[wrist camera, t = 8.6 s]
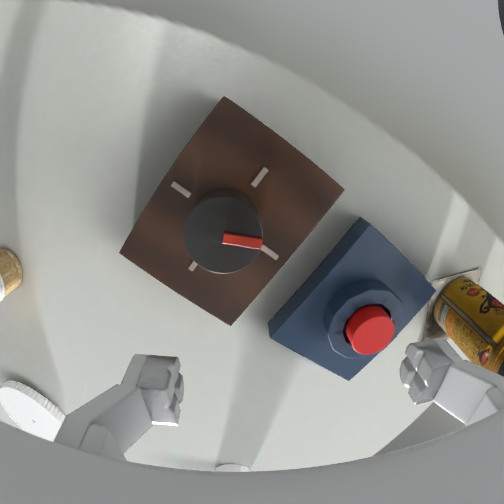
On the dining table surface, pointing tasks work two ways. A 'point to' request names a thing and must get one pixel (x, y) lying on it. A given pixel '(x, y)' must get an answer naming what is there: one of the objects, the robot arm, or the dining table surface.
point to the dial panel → (240, 178)
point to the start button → (369, 329)
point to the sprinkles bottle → (9, 272)
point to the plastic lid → (31, 410)
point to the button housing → (349, 299)
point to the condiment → (468, 319)
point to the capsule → (232, 468)
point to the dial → (223, 231)
